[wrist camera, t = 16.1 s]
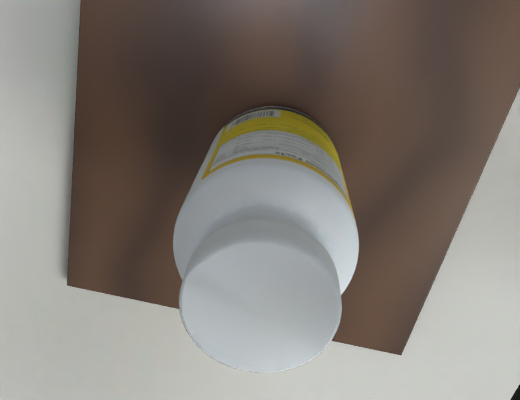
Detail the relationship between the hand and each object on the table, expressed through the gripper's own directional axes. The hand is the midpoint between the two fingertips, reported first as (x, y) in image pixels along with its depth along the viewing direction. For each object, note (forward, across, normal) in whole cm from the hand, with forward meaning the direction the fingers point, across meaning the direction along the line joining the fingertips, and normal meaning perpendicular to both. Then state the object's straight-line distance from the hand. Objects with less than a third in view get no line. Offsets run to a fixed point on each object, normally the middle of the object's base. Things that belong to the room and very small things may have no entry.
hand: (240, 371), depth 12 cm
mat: (+14, 0, 0) cm, 14 cm away
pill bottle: (+14, 0, 0) cm, 14 cm away
